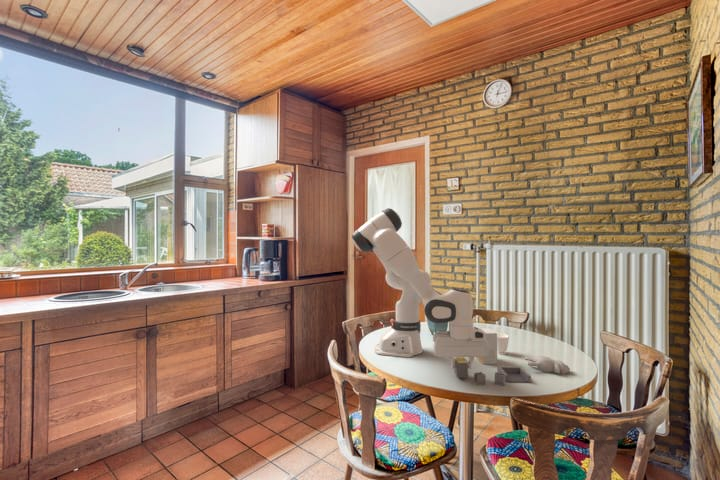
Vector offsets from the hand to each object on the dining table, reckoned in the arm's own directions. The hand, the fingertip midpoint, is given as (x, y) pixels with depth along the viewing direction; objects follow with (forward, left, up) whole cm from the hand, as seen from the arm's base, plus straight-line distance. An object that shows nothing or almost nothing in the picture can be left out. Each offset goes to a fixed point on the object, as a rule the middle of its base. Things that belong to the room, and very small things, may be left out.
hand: (460, 367), depth 129 cm
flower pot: (0, +58, -4) cm, 58 cm away
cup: (+23, +30, -4) cm, 38 cm away
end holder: (+20, +1, -4) cm, 20 cm away
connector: (0, 0, -3) cm, 3 cm away
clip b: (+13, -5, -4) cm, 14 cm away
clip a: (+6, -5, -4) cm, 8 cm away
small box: (+15, +19, -4) cm, 24 cm away
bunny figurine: (+35, +9, -4) cm, 37 cm away
